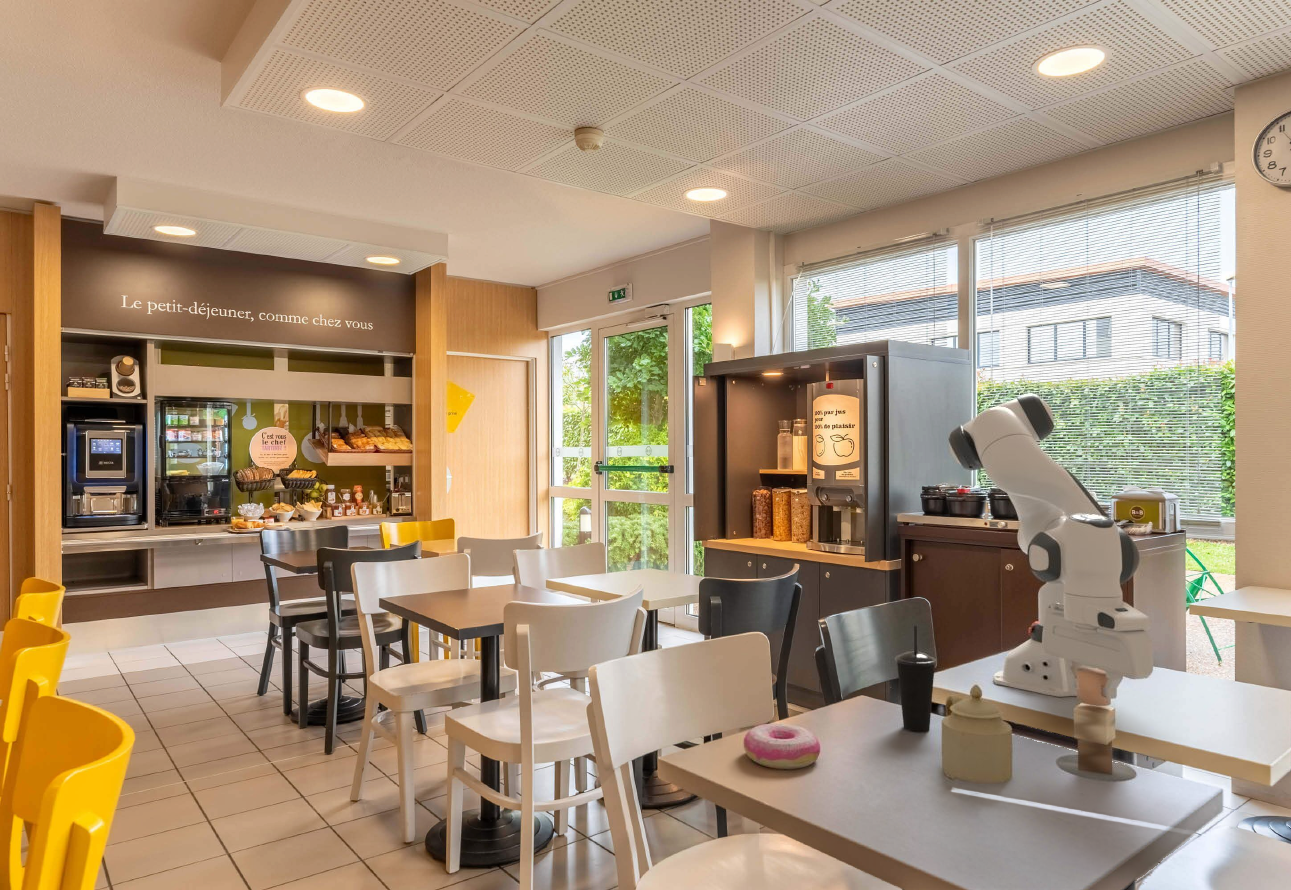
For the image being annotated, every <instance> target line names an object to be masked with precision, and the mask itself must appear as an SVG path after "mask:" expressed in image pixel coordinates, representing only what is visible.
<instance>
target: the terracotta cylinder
mask: <svg viewBox="0 0 1291 890" xmlns="http://www.w3.org/2000/svg"><path fill="white" fill-rule="evenodd" d="M1108 679H1109V678H1106V671H1103V670H1100V669H1097V668H1096V669H1093V668H1080V669H1077V696H1076V700H1077V702H1079V703H1080V704H1081V703H1084V704H1088V705H1095V706H1111V704H1112V702H1111V700H1112V699H1109V698H1106V697H1103V696H1102V695H1101V692H1102V691H1101V686H1106V684H1107V682H1108Z"/></svg>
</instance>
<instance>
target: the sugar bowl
mask: <svg viewBox="0 0 1291 890" xmlns="http://www.w3.org/2000/svg"><path fill="white" fill-rule="evenodd" d="M969 695H970V696H971V698H966V699H963V698H962V696H960V695H958V694H951V695H949V696H947V698H946V699H945V700H946V701H945V717H943V718H942V720H941V769H942V772H943V773H944V775H945V776H947V777H948V778H950V779H952V780H955V779H958V780H963V781H967V782H972V783H978V784H979V783H980V784H999V783H1003V782H1007V781H1009V780H1011V778H1012V777H1013V728H1012V727H1013V726H1011V724H1009V723H1008V722H1006V721H1005V720H1003V718H1002V716H1004V712H1003V710H1002V709H1000V708H998V707H997V706H996V705H995V704H993V703H992V702H989V701H987V700H982V699H981V698H982V696H983V691H982V689H981V687H980V686H979V685H978V684H974V685H973V686H972V687H971V689H970V691H969Z"/></svg>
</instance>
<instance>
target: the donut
mask: <svg viewBox="0 0 1291 890" xmlns="http://www.w3.org/2000/svg"><path fill="white" fill-rule="evenodd" d="M744 736H745V737H744V739H743V749H744V751H745V753H746V755H747V756H748V758H749V759H751V760H752V761H754V762H755V763H757V764H758V765H761V766H763V767H767V768H770V769H777V770H778V769H779V770H796V769H802V768H806V767H808V766H810V765H812V764H813V763H815V762H817V760H818V757H819V755H820V753H821V745H820V742H819V740H818V738H817V736H816V735H815V734H814V733H812V732H811V731H810V730H809V729H807V728H805V727H801V726H797V725H794V724H788V723H779V722H778V723H776V722H775V723H764V724H761V725H760V724H759V725H757V726H754V727H752V728H751V729H749V731H748V732H747V733H746V734H745V735H744Z"/></svg>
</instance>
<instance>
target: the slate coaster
mask: <svg viewBox="0 0 1291 890" xmlns="http://www.w3.org/2000/svg"><path fill="white" fill-rule="evenodd" d="M1112 761H1113V762H1112V775H1109V774H1102V773H1096V772H1090V771H1084V770H1078V754H1069V755H1068V754H1067V755H1063V756H1060V757H1058V758H1056V760H1055V764H1056V766H1057V767H1058V768H1059V769H1061V770H1063V771H1064V772H1066V773H1068V774H1071V775H1074V776H1077V777H1080V778H1084V779H1088V780H1095V781H1102V782H1125V781H1126V782H1127V781H1131V780H1133V779H1135V778H1136V777H1137V776H1138V775H1137V774H1138V773H1137V771H1136V770H1135V769H1134V768H1133V767H1132V766H1129V765H1128V764H1126V763H1124V762H1121V761H1118V760H1115V759H1112ZM1115 762H1118V763H1115ZM1124 764H1125V765H1124Z"/></svg>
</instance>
